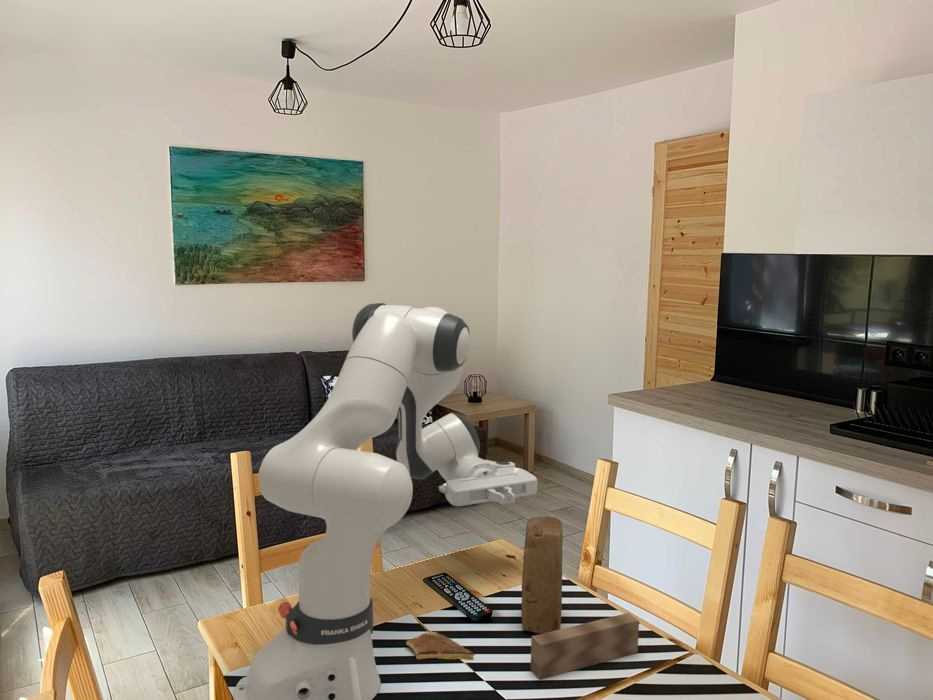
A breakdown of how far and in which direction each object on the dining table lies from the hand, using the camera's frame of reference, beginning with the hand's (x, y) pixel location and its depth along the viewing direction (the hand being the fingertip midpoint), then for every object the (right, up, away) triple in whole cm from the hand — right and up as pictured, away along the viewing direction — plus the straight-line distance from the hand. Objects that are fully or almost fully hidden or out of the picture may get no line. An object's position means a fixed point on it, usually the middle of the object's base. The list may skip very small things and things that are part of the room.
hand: (508, 499), depth 145 cm
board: (+12, -23, -23) cm, 34 cm away
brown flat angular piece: (-13, -23, -19) cm, 33 cm away
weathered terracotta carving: (+6, -21, -10) cm, 24 cm away
